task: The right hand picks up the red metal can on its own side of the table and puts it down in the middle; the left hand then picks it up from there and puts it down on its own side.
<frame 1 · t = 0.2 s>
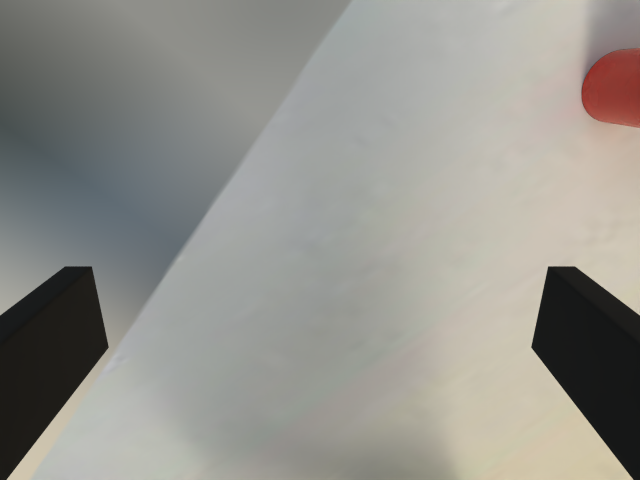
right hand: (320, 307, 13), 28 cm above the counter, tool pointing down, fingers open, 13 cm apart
can: (616, 86, 37), on the counter
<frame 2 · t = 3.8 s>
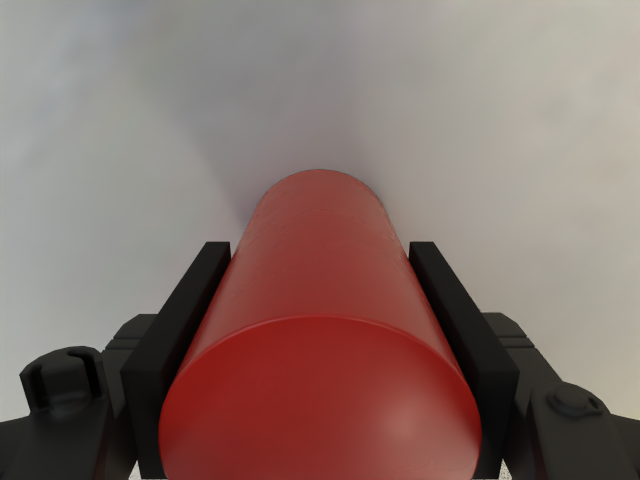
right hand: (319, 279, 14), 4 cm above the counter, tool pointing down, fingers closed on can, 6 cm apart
can: (319, 238, 18), on the counter, touching right hand
when the right hand's fingers open (5 cm above the counter, at t = 7.1 s): can drops 1 cm, on the counter.
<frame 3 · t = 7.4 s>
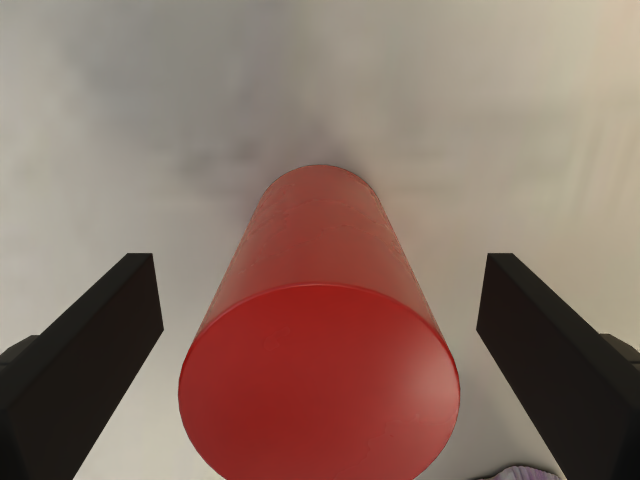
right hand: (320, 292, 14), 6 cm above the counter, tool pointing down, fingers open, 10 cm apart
can: (319, 229, 19), on the counter
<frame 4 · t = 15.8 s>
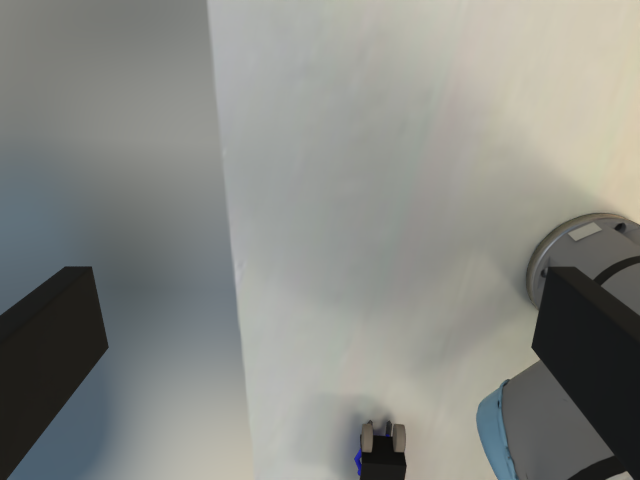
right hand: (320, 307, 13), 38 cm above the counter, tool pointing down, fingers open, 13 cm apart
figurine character: (375, 447, 65), on the counter
when the left hand's fingers open (7 cm above the counter, at t = 20.8 s): can drops 1 cm, on the counter.
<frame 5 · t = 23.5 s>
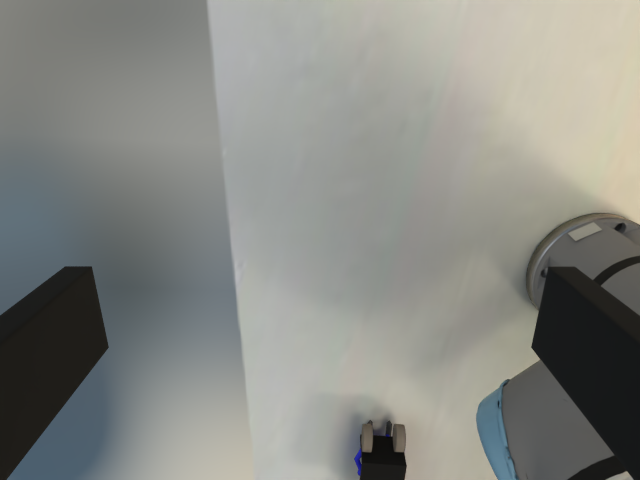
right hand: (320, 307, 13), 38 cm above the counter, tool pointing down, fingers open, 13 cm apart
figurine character: (375, 447, 65), on the counter
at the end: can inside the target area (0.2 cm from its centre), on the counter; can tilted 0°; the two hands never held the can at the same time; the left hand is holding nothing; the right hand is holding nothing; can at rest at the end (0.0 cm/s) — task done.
